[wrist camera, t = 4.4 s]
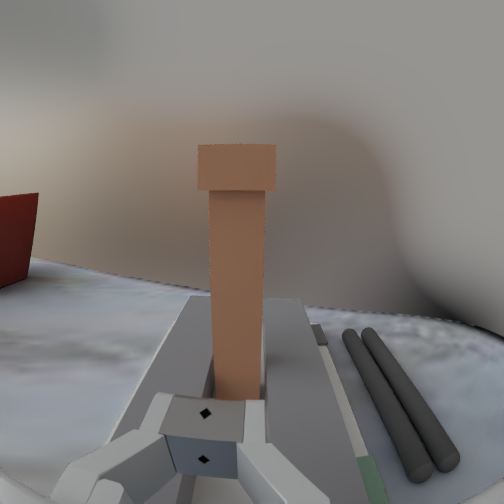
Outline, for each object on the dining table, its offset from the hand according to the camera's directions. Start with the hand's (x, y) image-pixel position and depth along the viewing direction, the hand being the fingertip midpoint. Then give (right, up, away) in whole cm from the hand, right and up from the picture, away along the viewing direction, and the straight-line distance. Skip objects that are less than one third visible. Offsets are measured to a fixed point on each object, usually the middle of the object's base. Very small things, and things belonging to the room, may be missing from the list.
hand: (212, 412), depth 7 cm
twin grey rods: (+12, -7, +12) cm, 19 cm away
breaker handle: (0, -6, +12) cm, 13 cm away
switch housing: (0, -7, +12) cm, 14 cm away
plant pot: (-52, -2, +33) cm, 61 cm away
